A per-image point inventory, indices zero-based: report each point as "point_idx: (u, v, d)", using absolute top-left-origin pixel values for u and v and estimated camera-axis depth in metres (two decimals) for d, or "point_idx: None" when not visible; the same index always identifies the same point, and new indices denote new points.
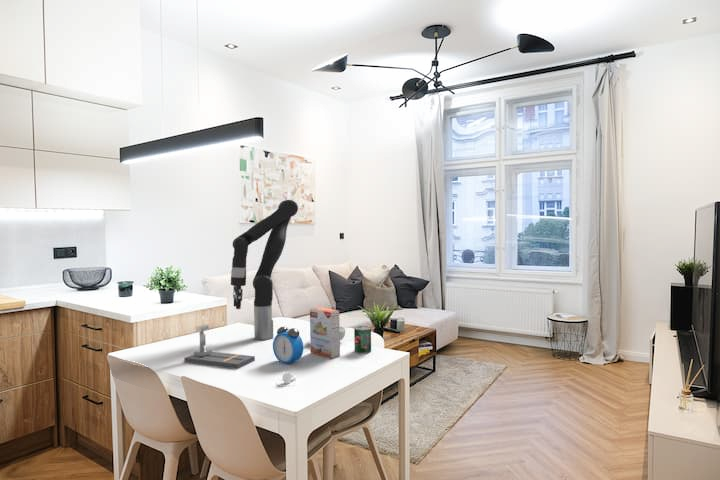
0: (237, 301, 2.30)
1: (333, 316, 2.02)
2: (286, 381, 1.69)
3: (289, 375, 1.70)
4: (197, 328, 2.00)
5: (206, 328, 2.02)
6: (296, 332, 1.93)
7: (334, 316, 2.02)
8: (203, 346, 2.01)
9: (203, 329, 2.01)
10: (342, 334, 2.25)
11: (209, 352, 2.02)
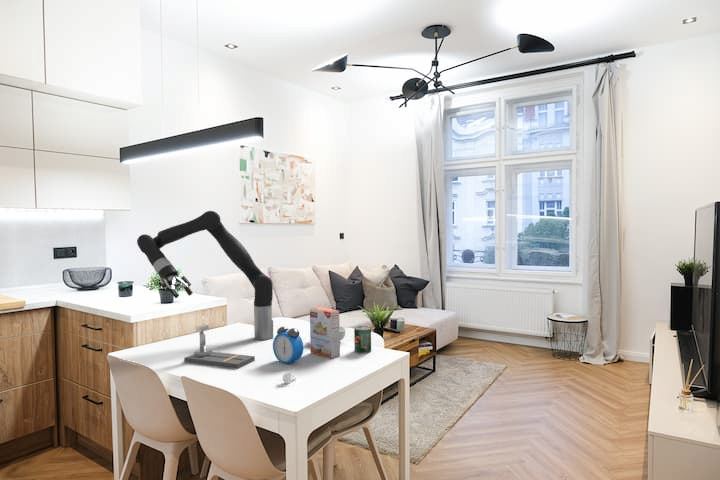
0: (170, 291, 2.06)
1: (333, 316, 2.02)
2: (286, 381, 1.69)
3: (289, 375, 1.70)
4: (197, 328, 2.00)
5: (206, 328, 2.02)
6: (296, 332, 1.93)
7: (334, 316, 2.02)
8: (203, 346, 2.01)
9: (203, 329, 2.01)
10: (342, 334, 2.25)
11: (209, 352, 2.02)
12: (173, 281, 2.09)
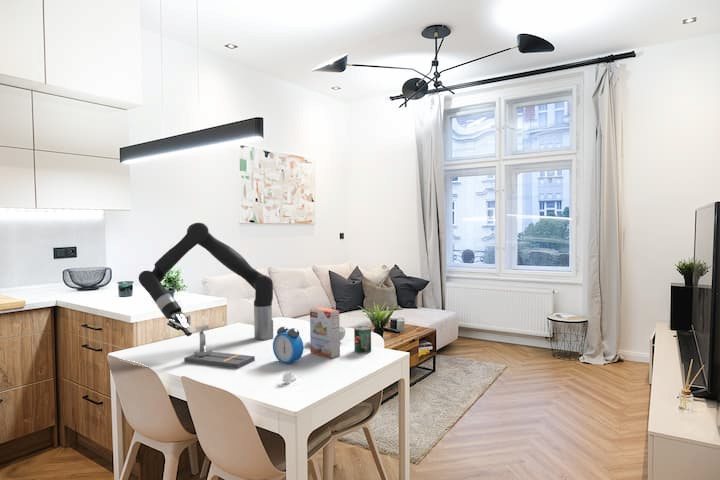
0: (182, 329, 2.05)
1: (333, 316, 2.02)
2: (286, 381, 1.69)
3: (289, 375, 1.70)
4: (197, 328, 2.00)
5: (206, 328, 2.02)
6: (296, 332, 1.93)
7: (334, 316, 2.02)
8: (203, 346, 2.01)
9: (203, 329, 2.01)
10: (342, 334, 2.25)
11: (209, 352, 2.02)
12: (179, 319, 2.05)
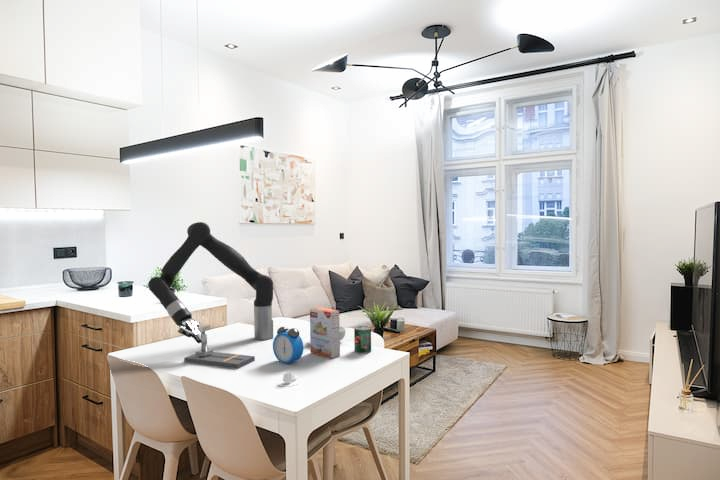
0: None
1: (333, 316, 2.02)
2: (287, 381, 1.69)
3: (290, 375, 1.70)
4: (198, 328, 1.99)
5: (207, 328, 2.02)
6: (296, 332, 1.93)
7: (334, 316, 2.02)
8: (204, 346, 2.01)
9: (204, 329, 2.00)
10: (342, 334, 2.25)
11: (210, 352, 2.02)
12: (190, 326, 2.03)
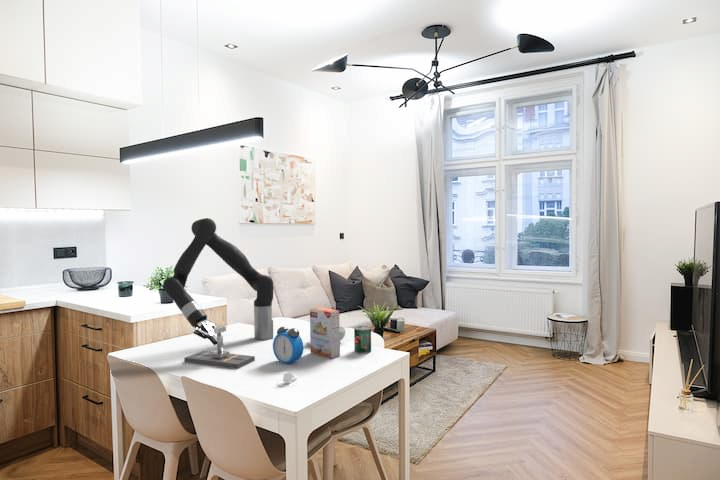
0: None
1: (333, 316, 2.02)
2: (287, 381, 1.69)
3: (290, 375, 1.70)
4: (215, 330, 1.96)
5: (223, 330, 1.99)
6: (296, 332, 1.93)
7: (334, 316, 2.02)
8: (220, 348, 1.98)
9: (221, 331, 1.97)
10: (342, 334, 2.25)
11: (226, 354, 1.99)
12: (206, 327, 2.00)
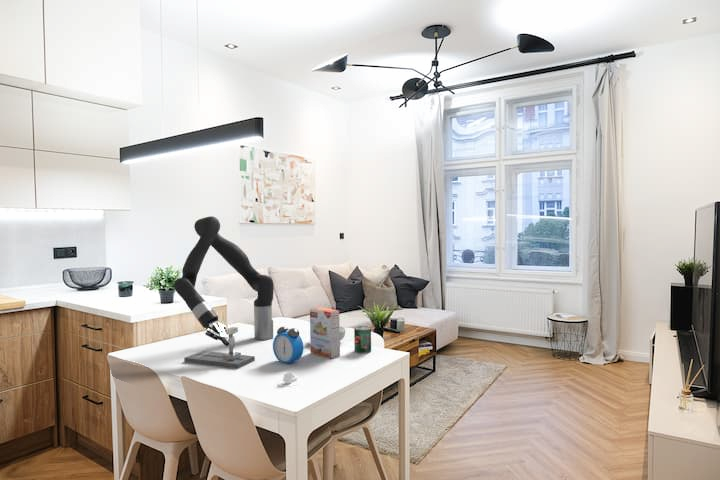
0: (220, 339, 1.97)
1: (333, 316, 2.02)
2: (287, 381, 1.69)
3: (290, 375, 1.70)
4: (226, 331, 1.94)
5: (235, 331, 1.97)
6: (296, 332, 1.93)
7: (334, 316, 2.02)
8: (232, 349, 1.95)
9: (232, 332, 1.95)
10: (342, 334, 2.25)
11: (238, 355, 1.97)
12: (217, 328, 1.97)
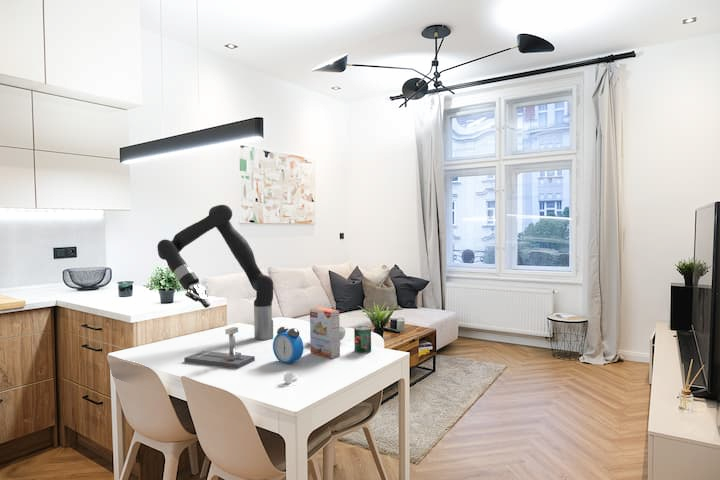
0: None
1: (333, 316, 2.02)
2: (287, 381, 1.69)
3: (290, 375, 1.70)
4: (227, 331, 1.94)
5: (235, 331, 1.97)
6: (296, 332, 1.93)
7: (334, 316, 2.02)
8: (233, 349, 1.95)
9: (233, 332, 1.95)
10: (342, 334, 2.25)
11: (239, 355, 1.97)
12: (197, 290, 2.02)
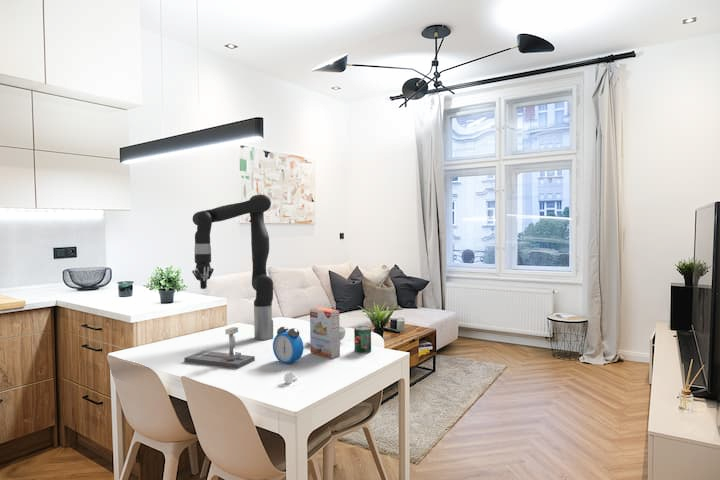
0: None
1: (333, 316, 2.02)
2: (288, 381, 1.69)
3: (291, 375, 1.70)
4: (227, 331, 1.94)
5: (235, 331, 1.97)
6: (296, 332, 1.93)
7: (334, 316, 2.02)
8: (233, 349, 1.95)
9: (233, 332, 1.95)
10: (342, 334, 2.25)
11: (239, 355, 1.97)
12: (204, 272, 2.18)
